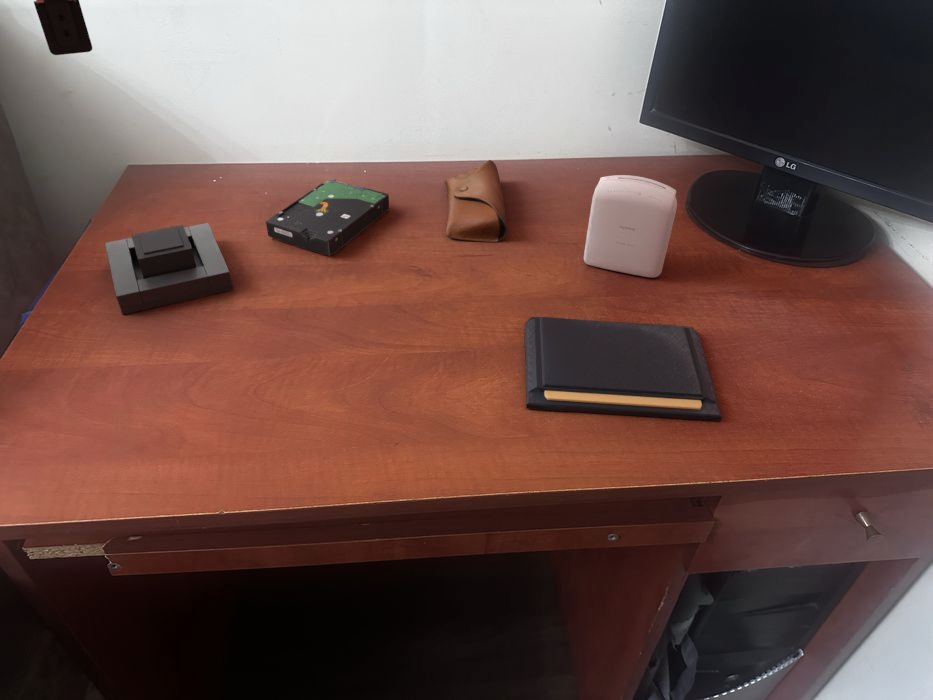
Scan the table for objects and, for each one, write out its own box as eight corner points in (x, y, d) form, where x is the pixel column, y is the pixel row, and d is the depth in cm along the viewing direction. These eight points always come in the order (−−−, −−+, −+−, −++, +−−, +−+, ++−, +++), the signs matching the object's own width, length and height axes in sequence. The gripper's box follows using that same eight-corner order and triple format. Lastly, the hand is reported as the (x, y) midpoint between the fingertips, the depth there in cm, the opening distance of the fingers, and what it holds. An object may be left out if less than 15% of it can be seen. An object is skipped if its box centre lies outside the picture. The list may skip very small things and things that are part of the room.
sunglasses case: (441, 177, 109) (465, 142, 105) (479, 198, 112) (503, 165, 108) (444, 238, 95) (472, 200, 92) (488, 261, 98) (516, 225, 94)
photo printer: (579, 266, 92) (593, 178, 84) (586, 249, 95) (600, 164, 87) (658, 283, 90) (681, 194, 82) (663, 266, 93) (685, 179, 85)
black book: (701, 319, 81) (727, 413, 69) (697, 332, 82) (722, 426, 70) (526, 305, 82) (523, 395, 70) (525, 318, 83) (521, 409, 71)
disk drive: (331, 260, 91) (390, 210, 102) (329, 241, 89) (390, 192, 100) (267, 239, 95) (330, 192, 105) (263, 221, 93) (328, 175, 103)
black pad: (146, 288, 84) (137, 258, 81) (139, 262, 88) (130, 233, 85) (199, 276, 86) (191, 247, 83) (189, 252, 90) (182, 223, 87)
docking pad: (122, 315, 81) (116, 296, 79) (110, 260, 89) (104, 242, 88) (233, 289, 85) (229, 271, 84) (212, 240, 94) (208, 222, 92)
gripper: (-63, -220, 56) (18, 13, 67) (-78, -209, 44) (22, 72, 55) (43, -217, 58) (104, 6, 69) (55, -206, 47) (126, 61, 58)
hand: (68, 35), depth 62 cm, fingers open, 9 cm apart
